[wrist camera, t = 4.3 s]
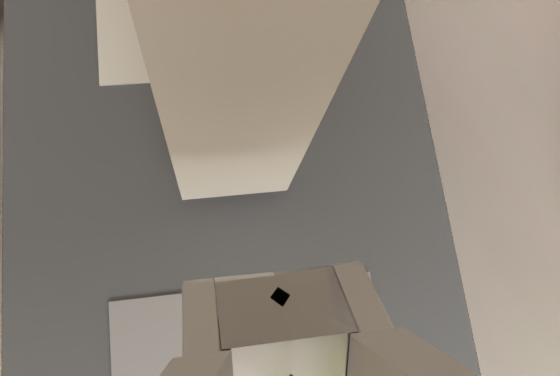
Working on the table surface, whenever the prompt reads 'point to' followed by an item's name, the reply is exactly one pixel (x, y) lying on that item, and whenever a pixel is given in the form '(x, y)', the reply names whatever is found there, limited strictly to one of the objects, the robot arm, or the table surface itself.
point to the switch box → (199, 212)
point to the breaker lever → (244, 84)
